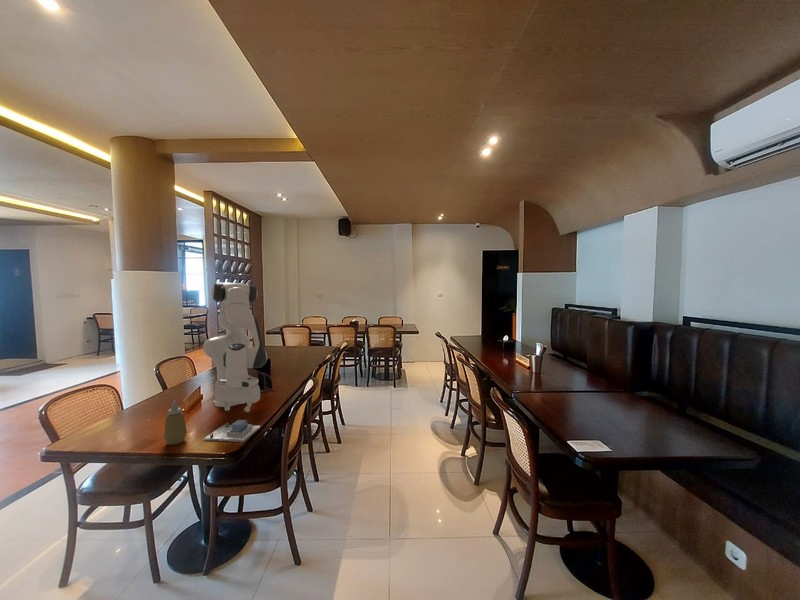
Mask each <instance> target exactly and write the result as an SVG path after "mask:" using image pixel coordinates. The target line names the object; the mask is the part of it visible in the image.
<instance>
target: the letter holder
mask: <svg viewBox="0 0 800 600" xmlns="http://www.w3.org/2000/svg"><path fill="white" fill-rule="evenodd" d="M247 371H248V375H250V376H252V377H254V378H257V379H258V380H259V382H258V383H257V385H259V388H260V394H262V393H265V392H266V391H267V392H269V391H270V392H271V391H273V378H272V377H271V376H270V375H268V374H267V373H264V372H261V371H259V370H256V369H255V368H247ZM261 392H262V393H261Z"/></svg>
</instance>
